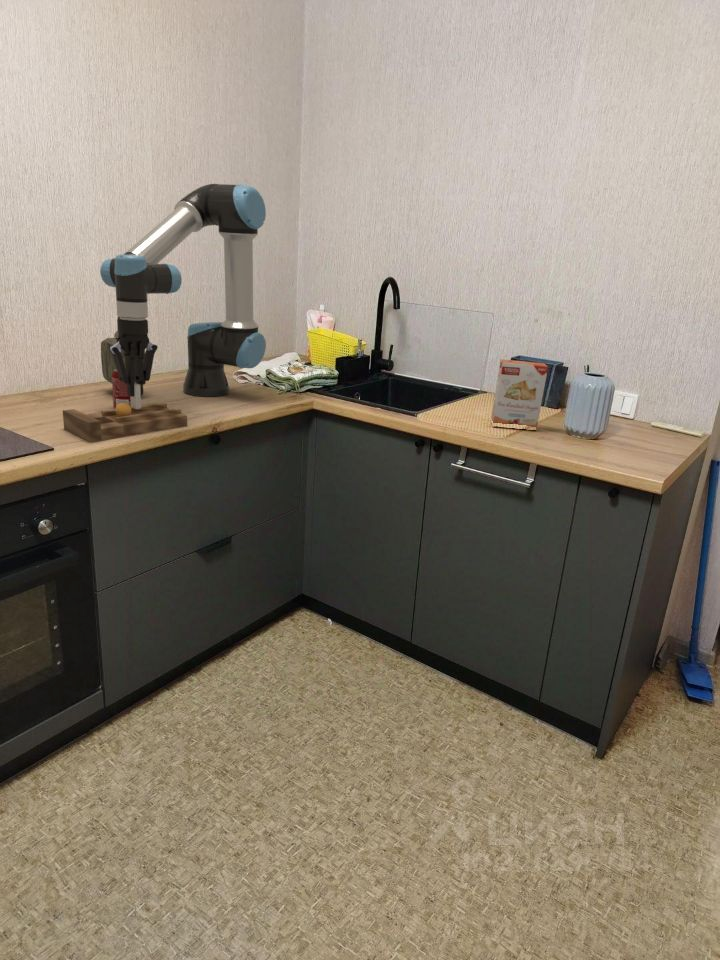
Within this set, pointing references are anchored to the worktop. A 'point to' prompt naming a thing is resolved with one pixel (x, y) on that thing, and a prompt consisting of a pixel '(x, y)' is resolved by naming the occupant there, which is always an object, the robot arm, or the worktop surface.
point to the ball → (123, 409)
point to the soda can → (119, 390)
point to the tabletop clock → (110, 357)
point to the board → (122, 422)
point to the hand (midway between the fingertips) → (135, 407)
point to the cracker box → (519, 392)
